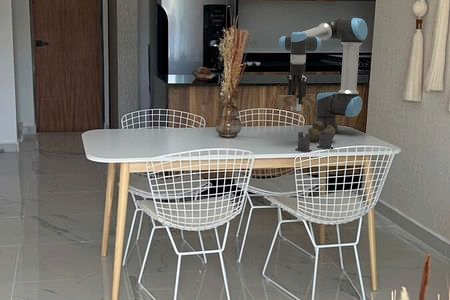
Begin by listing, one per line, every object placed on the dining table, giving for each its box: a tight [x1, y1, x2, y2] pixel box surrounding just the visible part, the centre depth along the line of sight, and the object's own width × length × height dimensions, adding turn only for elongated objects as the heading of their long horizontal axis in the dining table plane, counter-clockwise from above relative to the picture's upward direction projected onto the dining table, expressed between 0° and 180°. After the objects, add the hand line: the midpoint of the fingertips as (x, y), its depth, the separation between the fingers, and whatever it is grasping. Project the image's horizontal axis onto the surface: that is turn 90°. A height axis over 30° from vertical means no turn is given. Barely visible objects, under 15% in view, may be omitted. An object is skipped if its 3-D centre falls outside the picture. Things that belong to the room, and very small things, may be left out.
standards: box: [294, 130, 334, 153], centre depth 290 cm, size 18×7×9 cm, turn 123°
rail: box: [276, 93, 316, 107], centre depth 299 cm, size 22×4×5 cm, turn 123°
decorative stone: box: [308, 121, 336, 142], centre depth 314 cm, size 16×11×15 cm
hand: (296, 110), depth 300 cm, fingers closed on rail, 3 cm apart
